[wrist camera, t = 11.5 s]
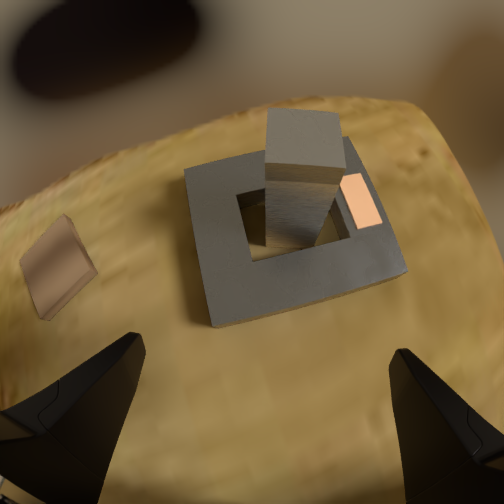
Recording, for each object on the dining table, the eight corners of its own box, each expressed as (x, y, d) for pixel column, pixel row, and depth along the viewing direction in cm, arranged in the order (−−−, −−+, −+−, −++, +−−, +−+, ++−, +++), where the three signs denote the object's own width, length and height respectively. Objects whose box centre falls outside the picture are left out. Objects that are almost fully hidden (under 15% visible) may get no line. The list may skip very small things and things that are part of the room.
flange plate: (396, 278, 23) (409, 270, 21) (217, 328, 23) (211, 326, 20) (342, 151, 28) (348, 135, 25) (190, 183, 27) (183, 168, 25)
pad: (98, 273, 25) (89, 269, 23) (49, 320, 23) (40, 318, 22) (70, 219, 27) (63, 213, 25) (27, 264, 25) (19, 260, 24)
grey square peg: (312, 249, 24) (346, 168, 13) (265, 246, 25) (264, 162, 13) (311, 207, 26) (338, 112, 14) (268, 205, 26) (267, 107, 15)
